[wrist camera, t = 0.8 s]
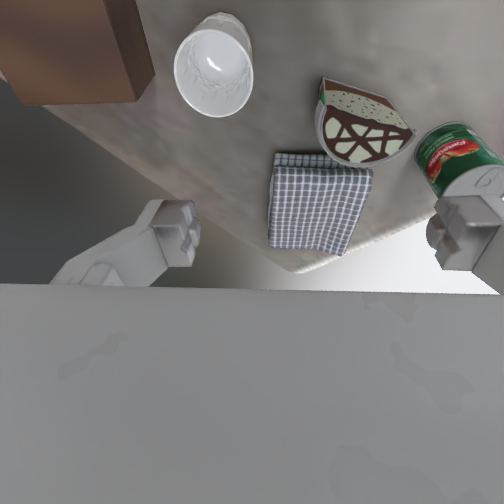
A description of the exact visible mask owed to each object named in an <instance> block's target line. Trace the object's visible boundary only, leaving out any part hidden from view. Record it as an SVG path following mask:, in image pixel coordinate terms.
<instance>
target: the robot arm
mask: <svg viewBox="0 0 504 504" xmlns="http://www.w3.org/2000/svg"><path fill="white" fill-rule="evenodd" d="M434 208H435V210H436V212H437V214H435V215H434V216H433V217H431V218H430V219H429V222H428V225H427V228H426V237H427V241H428V243H429V245H430V246H431V247H432V248H434V249H436V250H437V252H436V254H435V257H436V258H437V260H438V262H439V264H440V266H441V268H442V270H458V271H472V273H473V274H475V275H476V276H477V277H478V278H480V279H481V280H482V281H484V282H485V283H486V284H488V285H489V286H490V287H492V288H493V289H494V290H495V291H497V292H498V293H499V294H501V295H490V294H487V295H486V294H443V293H401V292H355V291H354V292H353V291H352V292H351V291H309V290H308V291H307V290H264V289H263V290H262V289H259V290H258V289H219V288H172V287H148V286H149V285H150V284H151V283H153V282H154V281H155V280H156V279H157V278H158V277H159V276H160V275H161V274H162V273H163V272H164V271H166V270H167V269H168V267H191V265H192V262H193V259H194V257H195V250H194V248H195V247H197V246H198V245H199V242H200V236H201V229H200V223H199V220H198V219H197V218H196V217H195V216H194V215H195V212H196V207H195V204H194V202H193V201H192V200H151V201H149V202H148V204H147V205H146V207H145V208H144V210H143V211H142V213H141V215H140V216H139V218H138V219H137V221H136V222H135V224H134V226H132V227H127V228H125V229H123V230H122V231H120V232H118V233H116V234H115V235H113V236H111V237H109V238H108V239H106V240H104V241H102V242H100V243H99V244H97V245H95V246H93V247H92V248H90V249H88V250H86V251H85V252H83V253H81V254H79V255H77V256H76V257H74V258H72V259H70V260H68V261H67V262H66V263H65V264H64V266H63V267H62V268H61V269H60V271H59V272H58V273H57V275H56V276H55V277H54V278H53V280H52V281H51V282H50V283H49V285H41V284H0V504H504V201H503V200H502V199H501V198H500V197H499V196H498V195H495V194H486V195H466V196H441V197H440V198H439V199H438V200H437V202H436V205H435V207H434Z"/></svg>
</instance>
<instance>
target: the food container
mask: <svg viewBox="0 0 504 504" xmlns="http://www.w3.org/2000/svg"><path fill="white" fill-rule="evenodd" d="M315 132H316V136H317V139H318V141H319V143H320V145H321V146H322V148H323V149H324V150H325V151H326V153H327V154H328V155H329V156H330V157H331V158H333V159H334V160H336V161H337V162H339V163H341V164H344V165H347V166H351V167H361V168H362V167H371V166H375V165H379V164H382V163H384V162H387V161H389V160H391V159H393V158H394V157H396V156H398V155H399V154H401V153H402V152H403V151H404V150H406V149H407V148H408V147H409V146H410V145H411V144H412V143H413V142H414V141H415V140H416V138H417V137H418V136H417V135H418V133H417V131H416V129H414V130H413V129H412V128H411V127H410V126H409V124H408V123H407V122H406V121H405V119H404V118H403V117H402V116H401V114H400V113H399V112H398V110H397V109H396V108H395V107H394V105H393V104H392V103H391V102H390V100H389V99H388V98H387V97H385V96H382V95H379V94H376V93H372V92H369V91H366V90H363V89H360V88H357V87H354V86H350V85H347V84H344V83H341V82H338V81H335V80H332V79H328V78H325V77H323V78H322V81H321V84H320V90H319V102H318V105H317V108H316V113H315Z"/></svg>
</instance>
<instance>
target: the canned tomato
mask: <svg viewBox="0 0 504 504" xmlns="http://www.w3.org/2000/svg"><path fill="white" fill-rule="evenodd" d="M415 160H416V163H417V164H418V165H419V167H420V169H421V171H422V172H423V174H424V176H425V177H426V179H427V181H428V182H429V184H430V186H431V188H432V189H433V191H434V193H435V194H436V196H437V198H438V199H439V198H440V197H441V196H466V195H486V194H495V195H498V196H499V197H500V198H501V199H502V198H503V197H504V163H503V162H502V161H501V160H500V159H499V158H498V157H497V155H496V154H495V153H494V152H493V151H492V150H491V149H490V148H489V147H488V146H487V145H486V144H485V143H484V142H483V141H482V139H481V138H480V137H479V136H478V135H477V134H476V133H475V132H474V131H473V130H472V128H471V127H470V126H469V125H467V124H465V123H462V122H451V123H447V124H443V125H441V126H439V127H437V128H435V129H433V130H432V131H430V132H429V133H428V134H427V135H426V136H425V137H424V138H423V139H422V140H421V141H420V143H419V144H418V146H417V148H416V151H415Z"/></svg>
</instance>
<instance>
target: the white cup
mask: <svg viewBox="0 0 504 504" xmlns="http://www.w3.org/2000/svg"><path fill="white" fill-rule="evenodd" d="M174 76H175V81H176V84H177V87H178V90H179V92H180V93H181V95H182V97H183V98H184V100H185V101H186V102H187V103H188V104H189V105H190V106H191V107H192V108H193V109H195V110H196V111H198V112H200V113H202V114H204V115H207V116H210V117H225V116H229V115H232V114H234V113H236V112H237V111H238V110H240V109H241V108H242V107H243V106H244V105H245V103H246V102H247V100H248V99H249V97H250V94H251V91H252V87H253V56H252V48H251V44H250V37H249V35H248V33H247V31H246V28H245V26H244V24H242V23H241V22H240V21H239V20H238V19H237V18H236V17H234V16H233V15H231V14H226V13H222V12H218V13H215V14H213V15H210V16H207V17H206V18H205V20H203V21H202V22H200V23H199V24H198V25H197V26H196V27H195V28H194V29H193V30H192V31H191V33H190V34H189V35H188V36H187V37H186V39H185V40H184V41H183V42H182V43H181V45H180V46H179V48H178V50H177V53H176V56H175V60H174Z"/></svg>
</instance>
